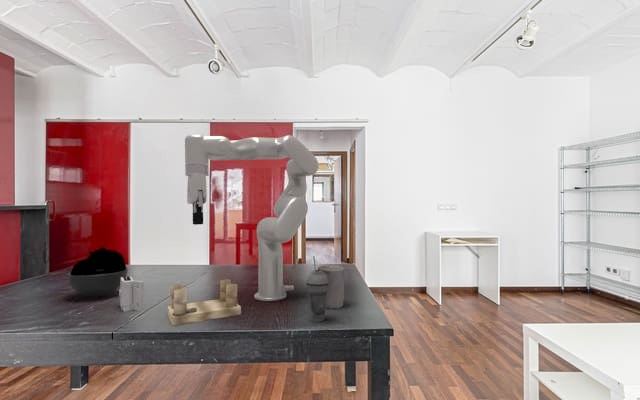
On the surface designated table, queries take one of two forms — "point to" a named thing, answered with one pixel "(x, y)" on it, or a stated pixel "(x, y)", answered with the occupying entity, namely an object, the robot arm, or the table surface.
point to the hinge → (131, 294)
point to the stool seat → (208, 305)
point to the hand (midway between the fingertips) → (198, 224)
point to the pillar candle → (334, 285)
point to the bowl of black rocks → (98, 273)
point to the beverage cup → (317, 294)
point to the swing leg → (181, 302)
